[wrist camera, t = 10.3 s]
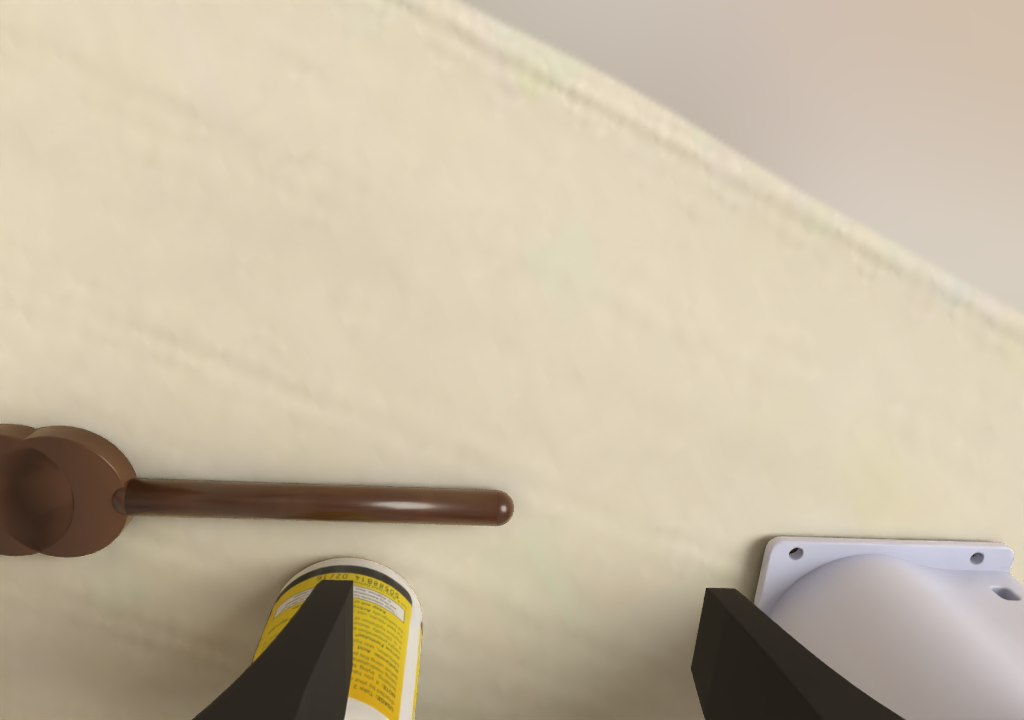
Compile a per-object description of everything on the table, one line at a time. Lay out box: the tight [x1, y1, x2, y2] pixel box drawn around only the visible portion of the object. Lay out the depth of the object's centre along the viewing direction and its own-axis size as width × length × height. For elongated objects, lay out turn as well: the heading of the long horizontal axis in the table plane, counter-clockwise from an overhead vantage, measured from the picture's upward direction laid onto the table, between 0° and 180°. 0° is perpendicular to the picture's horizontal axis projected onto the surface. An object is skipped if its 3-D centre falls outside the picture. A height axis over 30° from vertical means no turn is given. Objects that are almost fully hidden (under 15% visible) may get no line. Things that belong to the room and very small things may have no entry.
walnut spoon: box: [0, 424, 514, 557], centre depth 24 cm, size 19×4×1 cm, turn 86°
